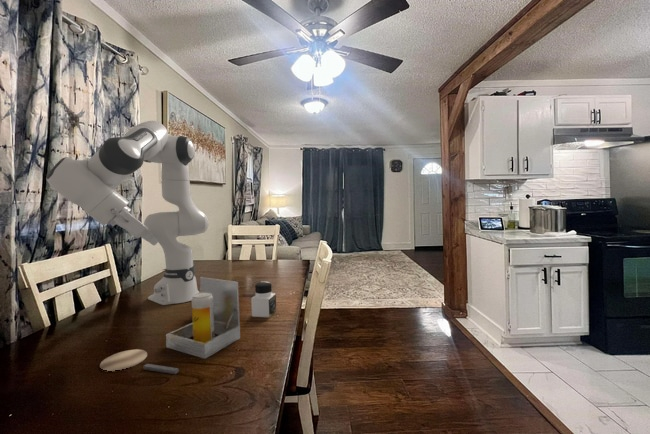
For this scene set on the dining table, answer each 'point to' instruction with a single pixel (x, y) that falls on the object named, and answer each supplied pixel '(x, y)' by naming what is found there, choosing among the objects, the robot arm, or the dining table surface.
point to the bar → (161, 368)
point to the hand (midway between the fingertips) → (154, 241)
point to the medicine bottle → (263, 300)
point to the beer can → (203, 317)
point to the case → (223, 321)
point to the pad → (123, 360)
